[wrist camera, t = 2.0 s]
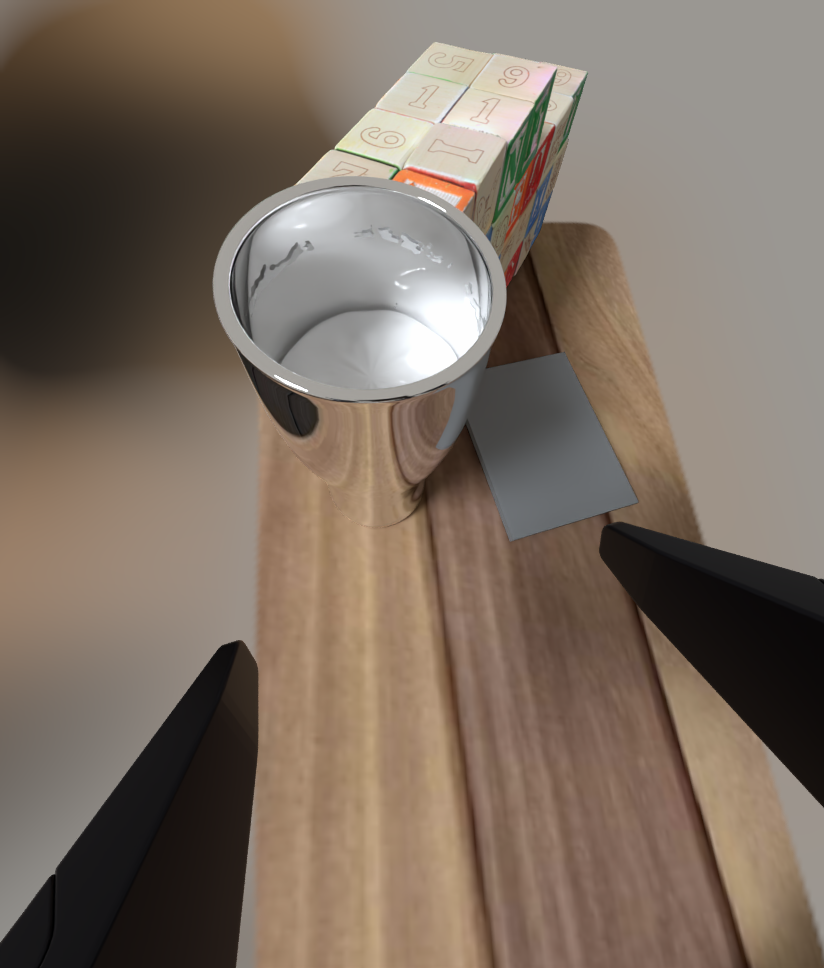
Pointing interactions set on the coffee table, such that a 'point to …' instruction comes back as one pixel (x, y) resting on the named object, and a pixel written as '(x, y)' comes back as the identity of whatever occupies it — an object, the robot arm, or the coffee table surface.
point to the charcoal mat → (544, 447)
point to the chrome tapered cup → (362, 330)
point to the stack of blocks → (470, 139)
